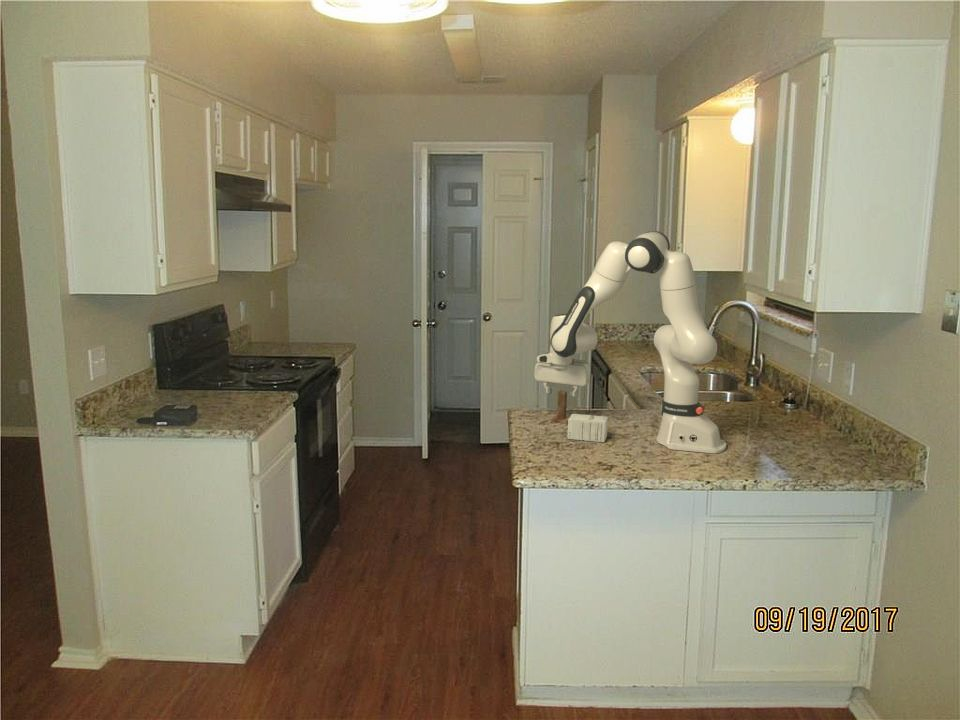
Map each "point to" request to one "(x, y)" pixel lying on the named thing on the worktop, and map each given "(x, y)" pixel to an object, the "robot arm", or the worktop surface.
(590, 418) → the supplement box
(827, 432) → the worktop surface
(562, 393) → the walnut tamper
